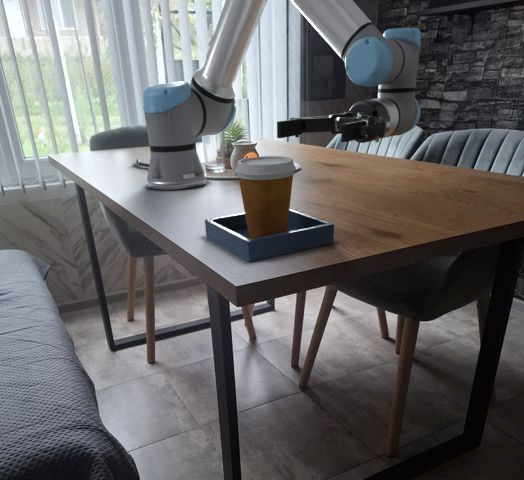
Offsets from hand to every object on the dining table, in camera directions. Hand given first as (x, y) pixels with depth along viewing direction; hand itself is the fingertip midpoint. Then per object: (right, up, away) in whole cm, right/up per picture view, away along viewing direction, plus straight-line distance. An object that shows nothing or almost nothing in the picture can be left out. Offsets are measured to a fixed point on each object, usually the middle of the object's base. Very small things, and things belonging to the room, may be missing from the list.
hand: (309, 131), depth 83 cm
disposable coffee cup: (-7, -19, -2) cm, 20 cm away
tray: (-7, -19, -2) cm, 21 cm away
